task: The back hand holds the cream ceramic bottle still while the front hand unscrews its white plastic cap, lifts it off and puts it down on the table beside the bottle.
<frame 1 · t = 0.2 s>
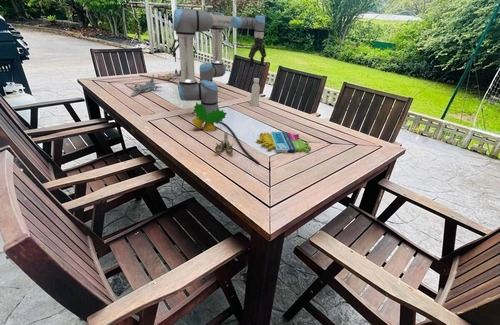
front hand: (184, 61, 211), 28 cm above the table, tool pointing down, fingers open, 13 cm apart
back hand: (256, 66, 216), 28 cm above the table, tool pointing down, fingers open, 13 cm apart
cap: (256, 79, 205), point 21 cm above the table, screwed on, not yet turned
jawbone: (224, 151, 138), on the table
toy: (172, 78, 282), on the table
ornament: (209, 128, 165), on the table
airplane: (145, 91, 231), on the table
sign: (281, 143, 152), on the table
bottle: (254, 105, 215), on the table
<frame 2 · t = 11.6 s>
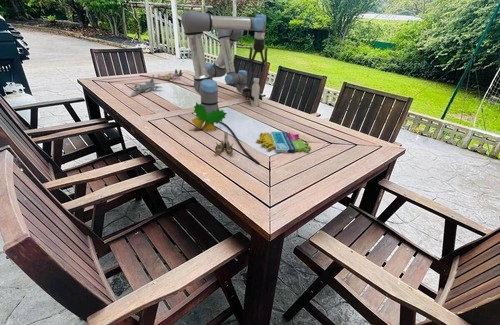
front hand: (257, 71, 202), 27 cm above the table, tool pointing down, fingers open, 7 cm apart
back hand: (257, 99, 208), 6 cm above the table, tool horizontal, fingers closed on bottle, 7 cm apart
bottle: (254, 105, 215), on the table, touching back hand
everything else where it was.
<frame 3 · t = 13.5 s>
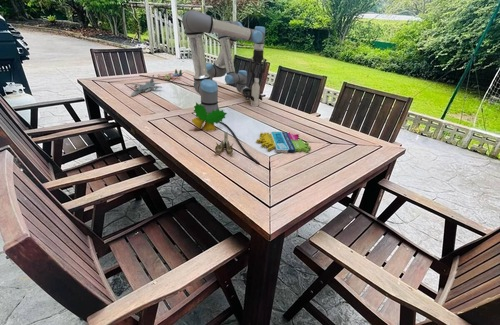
front hand: (256, 81, 206), 19 cm above the table, tool pointing down, fingers closed on cap, 4 cm apart
back hand: (257, 99, 208), 6 cm above the table, tool horizontal, fingers closed on bottle, 7 cm apart
cap: (256, 79, 205), point 21 cm above the table, screwed on, not yet turned, touching front hand
bottle: (254, 105, 215), on the table, touching back hand
everything else where it was.
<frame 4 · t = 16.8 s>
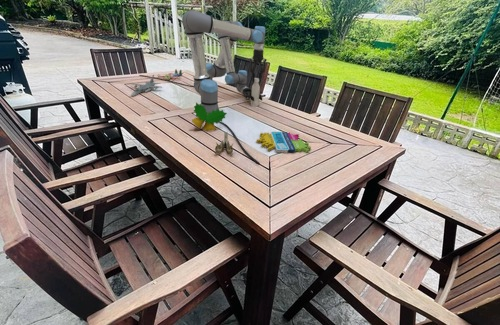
front hand: (256, 81, 206), 19 cm above the table, tool pointing down, fingers closed on cap, 4 cm apart
back hand: (257, 99, 208), 6 cm above the table, tool horizontal, fingers closed on bottle, 7 cm apart
cap: (256, 78, 205), point 21 cm above the table, turned 102° so far, risen 0.1 cm, still on its thread, touching front hand
bottle: (254, 105, 215), on the table, touching back hand
everything else where it was.
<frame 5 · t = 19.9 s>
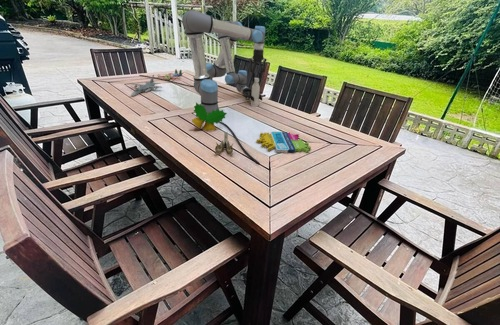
front hand: (256, 81, 205), 19 cm above the table, tool pointing down, fingers closed on cap, 4 cm apart
back hand: (257, 99, 208), 6 cm above the table, tool horizontal, fingers closed on bottle, 7 cm apart
cap: (256, 78, 204), point 21 cm above the table, turned 205° so far, risen 0.2 cm, still on its thread, touching front hand
bottle: (254, 105, 215), on the table, touching back hand
everything else where it was.
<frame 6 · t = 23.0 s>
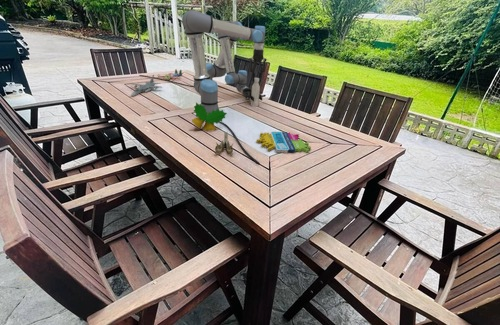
front hand: (256, 81, 205), 19 cm above the table, tool pointing down, fingers closed on cap, 4 cm apart
back hand: (257, 99, 208), 6 cm above the table, tool horizontal, fingers closed on bottle, 7 cm apart
cap: (256, 78, 204), point 21 cm above the table, turned 307° so far, risen 0.4 cm, still on its thread, touching front hand
bottle: (254, 105, 215), on the table, touching back hand
everything else where it was.
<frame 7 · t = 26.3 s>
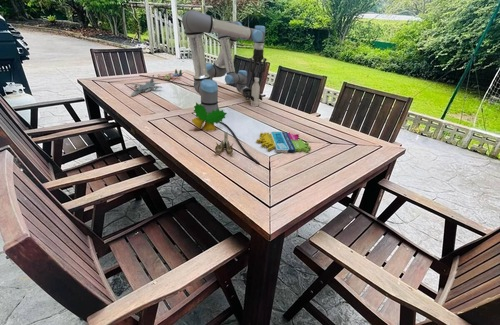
front hand: (256, 81, 205), 19 cm above the table, tool pointing down, fingers closed on cap, 4 cm apart
back hand: (257, 99, 208), 6 cm above the table, tool horizontal, fingers closed on bottle, 7 cm apart
cap: (256, 78, 204), point 21 cm above the table, turned 410° so far, risen 0.5 cm, still on its thread, touching front hand
bottle: (254, 105, 215), on the table, touching back hand
everything else where it was.
when the front hand's fingers open (1 cm above the table, at t = 32.9 s): cap drops 1 cm, point 2 cm above the table.
when the back hand's fingers open (6 cm above the table, at t = 34.1 s): bottle stays where it is, on the table.
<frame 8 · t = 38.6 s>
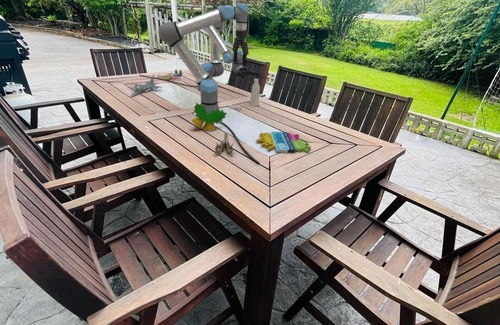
front hand: (239, 63, 186), 34 cm above the table, tool pointing down, fingers open, 13 cm apart
back hand: (251, 76, 211), 21 cm above the table, tool horizontal, fingers open, 13 cm apart
cap: (237, 106, 201), point 2 cm above the table, off its thread
bottle: (254, 105, 215), on the table
everything else where it was.
at the end: cap came off its thread; cap point 2.0 cm above the table; the front hand is holding nothing; the back hand is holding nothing; bottle tilted 0°; bottle moved 0.0 cm from its start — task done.
